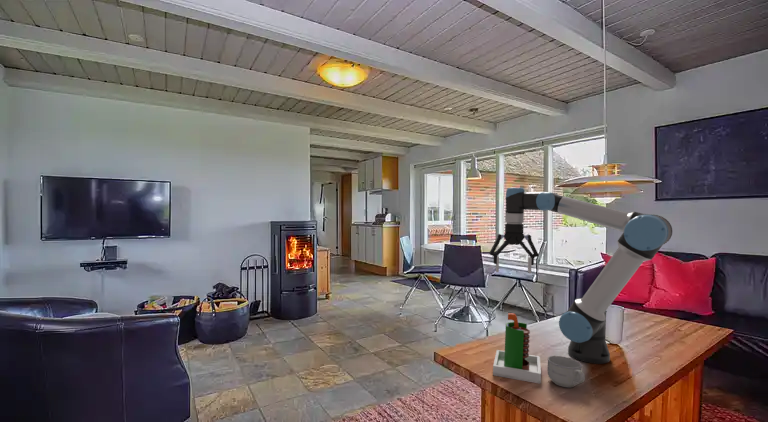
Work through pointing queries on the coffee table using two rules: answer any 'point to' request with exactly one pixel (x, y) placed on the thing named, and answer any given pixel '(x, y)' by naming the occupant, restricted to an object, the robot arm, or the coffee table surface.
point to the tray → (518, 374)
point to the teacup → (565, 371)
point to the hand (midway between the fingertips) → (513, 272)
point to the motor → (516, 344)
